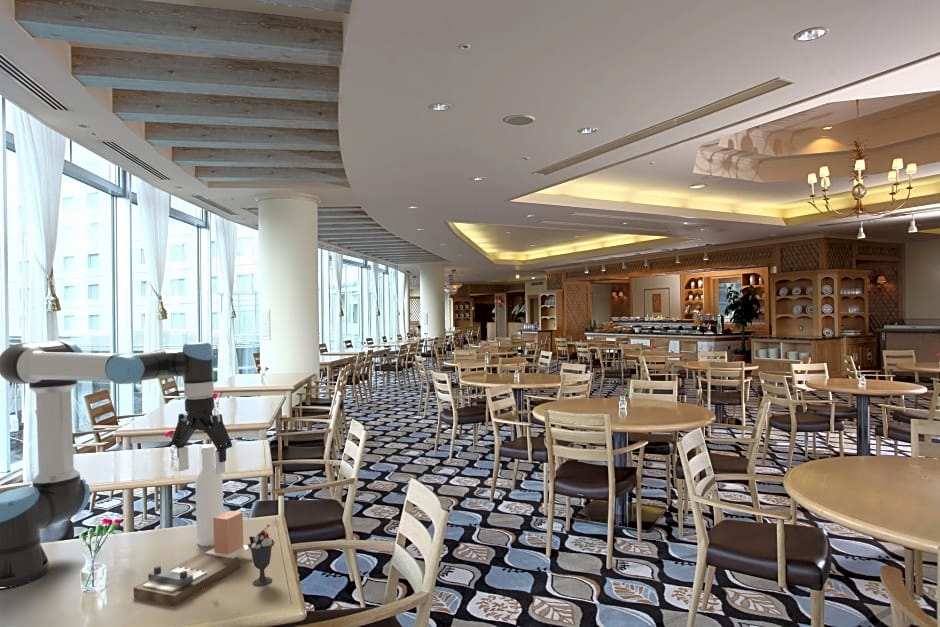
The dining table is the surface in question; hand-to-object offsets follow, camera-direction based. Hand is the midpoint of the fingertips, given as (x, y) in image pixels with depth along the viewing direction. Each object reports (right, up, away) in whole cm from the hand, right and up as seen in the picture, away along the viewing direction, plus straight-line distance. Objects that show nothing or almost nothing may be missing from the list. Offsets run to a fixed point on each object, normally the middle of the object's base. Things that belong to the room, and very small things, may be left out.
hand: (201, 471), depth 164 cm
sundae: (+21, -26, -11) cm, 36 cm away
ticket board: (+1, -27, -10) cm, 28 cm away
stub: (+6, -24, +3) cm, 25 cm away
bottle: (-5, -27, +18) cm, 33 cm away
